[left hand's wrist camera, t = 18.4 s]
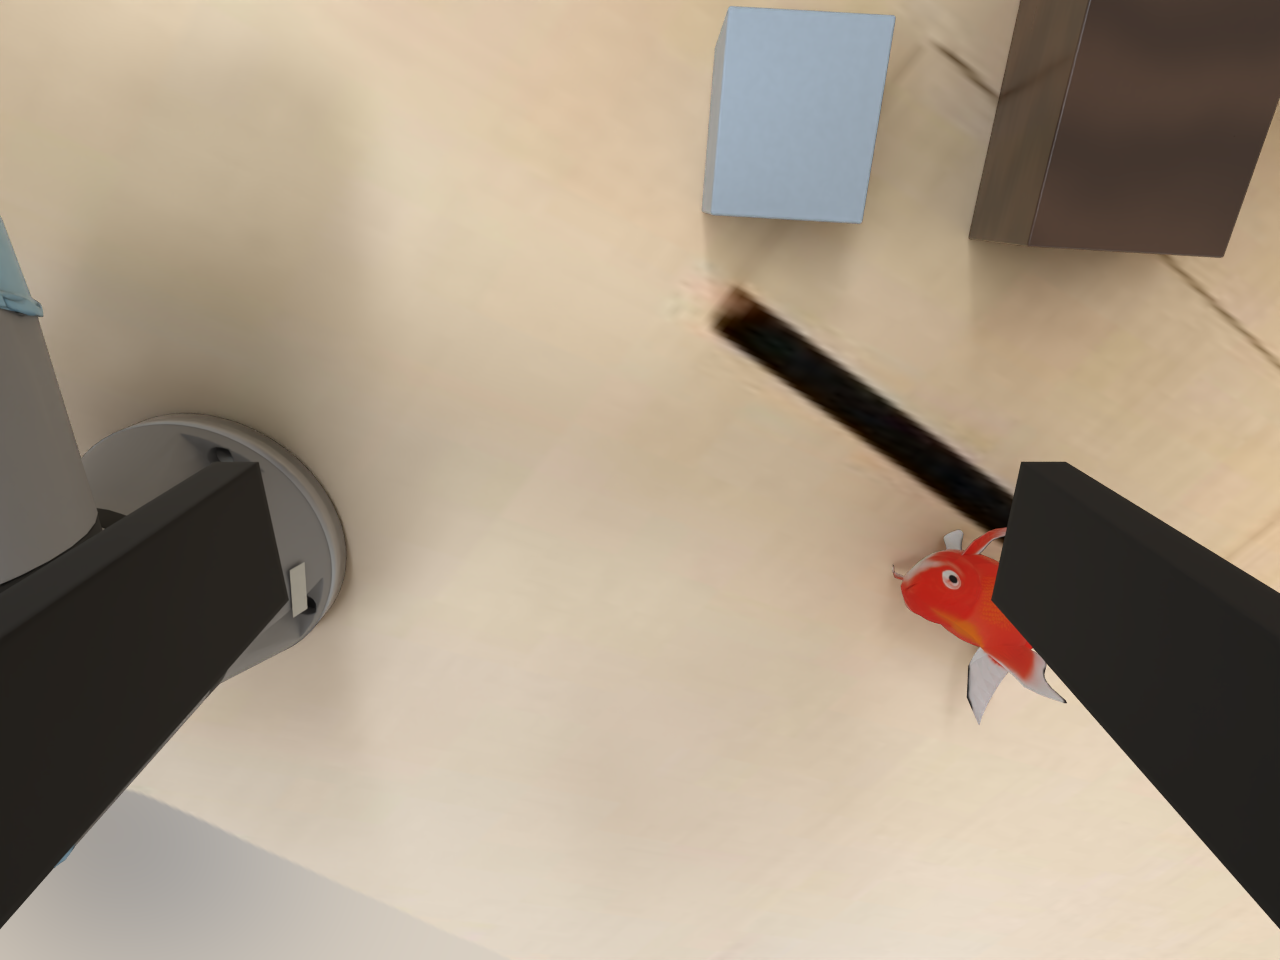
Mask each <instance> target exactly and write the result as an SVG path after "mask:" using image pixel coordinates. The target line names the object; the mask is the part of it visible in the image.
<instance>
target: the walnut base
mask: <svg viewBox="0 0 1280 960" xmlns="http://www.w3.org/2000/svg"><path fill="white" fill-rule="evenodd" d="M1279 98H1280V0H1021V2H1020V7H1019V11H1018V16H1017V20H1016V25H1015V29H1014V34H1013V38H1012V43H1011V48H1010V52H1009V57H1008V61H1007V66H1006V70H1005V75H1004V79H1003V84H1002V89H1001V93H1000V98H999V102H998V107H997V111H996V116H995V120H994V125H993V130H992V134H991V139H990V143H989V148H988V152H987V157H986V161H985V166H984V171H983V175H982V180H981V184H980V189H979V193H978V198H977V202H976V207H975V212H974V216H973V221H972V225H971V230H970V234H969V239H974V240H982V241H990V242H997V243H1005V244H1013V245H1020V246H1028V247H1045V248H1062V249H1079V250H1096V251H1113V252H1130V253H1147V254H1164V255H1181V256H1198V257H1215V258H1221V257H1223V256H1224V254H1225V251H1226V248H1227V245H1228V243H1229V240H1230V237H1231V234H1232V231H1233V228H1234V226H1235V223H1236V220H1237V217H1238V214H1239V211H1240V209H1241V206H1242V203H1243V200H1244V197H1245V194H1246V192H1247V189H1248V186H1249V183H1250V180H1251V177H1252V175H1253V172H1254V169H1255V166H1256V163H1257V160H1258V158H1259V155H1260V152H1261V149H1262V146H1263V143H1264V141H1265V138H1266V135H1267V132H1268V129H1269V127H1270V124H1271V121H1272V118H1273V115H1274V112H1275V110H1276V107H1277V104H1278V101H1279Z"/></svg>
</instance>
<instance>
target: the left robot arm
mask: <svg viewBox="0 0 1280 960" xmlns="http://www.w3.org/2000/svg"><path fill="white" fill-rule="evenodd" d="M37 316H38V317H43V309H42V306H41V304H40V303H39V302H38V301H36V300H34V299H33V298H32V297H31V295H30V292H29V290H28V287H27V284H26V282H25V279H24V276H23V274H22V271H21V268H20V266H19V263H18V260H17V258H16V255H15V252H14V250H13V247H12V244H11V242H10V239H9V236H8V234H7V231H6V228H5V226H4V223H3V220H2V218H1V216H0V929H1V928H2V926H3V925H4V924H5V923H6V922H7V921H8V920H9V918H10V917H11V916H12V915H13V914H14V913H15V912H16V910H17V909H18V908H19V907H20V906H21V905H22V904H23V902H24V901H25V900H26V899H27V898H28V897H29V896H30V894H31V893H32V892H33V891H34V890H35V889H36V888H37V886H38V885H39V884H40V883H41V882H42V881H43V880H44V879H45V877H46V876H47V875H48V874H49V873H50V872H51V871H52V869H53V868H55V867H56V866H57V865H59V864H60V863H61V862H63V861H64V860H65V859H66V858H67V857H68V856H69V854H70V853H71V851H72V850H73V849H74V847H75V846H76V844H77V843H78V842H79V841H80V840H81V839H82V838H83V837H84V835H85V834H86V833H87V832H88V831H89V830H90V829H91V828H92V826H93V825H94V824H95V823H96V822H97V821H98V820H99V819H100V817H101V816H102V815H103V814H104V813H105V812H106V811H107V809H108V808H109V807H110V806H111V805H112V804H113V803H114V802H115V800H116V799H117V798H118V797H119V796H120V795H121V794H122V793H123V791H124V790H125V789H126V788H127V787H128V786H129V785H130V784H131V782H132V781H133V780H134V779H135V778H136V777H137V776H138V775H139V773H140V772H141V771H142V770H143V769H144V768H145V767H146V766H147V764H148V763H149V762H150V761H151V760H152V759H153V758H154V756H155V755H156V754H157V753H158V752H159V751H160V750H161V749H162V747H163V746H164V745H165V744H166V743H167V742H168V741H169V740H170V738H171V737H172V736H173V735H174V734H175V733H176V732H177V731H178V729H179V728H180V727H181V726H182V725H183V724H184V723H185V722H186V720H187V719H188V718H189V717H190V716H191V715H192V714H193V712H194V711H195V710H196V709H197V708H198V707H199V706H200V705H201V703H202V702H203V701H204V700H205V699H206V698H207V697H208V696H209V695H210V693H211V692H212V691H213V690H214V689H215V688H216V687H217V686H218V685H219V684H220V683H222V682H224V681H226V680H228V679H230V678H232V677H234V676H236V675H237V674H239V673H241V672H243V671H245V670H247V669H249V668H251V667H253V666H255V665H257V664H259V663H261V662H263V661H265V660H267V659H269V658H270V657H272V656H274V655H276V654H278V653H280V652H282V651H284V650H286V649H288V648H290V647H292V646H293V645H295V644H296V643H298V642H299V641H300V640H302V639H303V638H304V637H305V636H306V635H307V634H308V633H309V632H311V630H312V629H313V628H314V627H315V626H316V624H317V623H318V622H319V621H320V619H321V618H322V617H323V616H324V615H325V613H326V612H327V611H328V610H329V609H330V607H331V606H332V604H333V603H334V601H335V599H336V597H337V595H338V593H339V591H340V589H341V586H342V583H343V579H344V574H345V568H346V546H345V539H344V534H343V530H342V526H341V523H340V520H339V518H338V515H337V512H336V510H335V508H334V506H333V504H332V502H331V500H330V499H329V497H328V495H327V493H326V492H325V490H324V489H323V487H322V486H321V485H320V483H319V482H318V480H317V479H316V478H315V477H314V476H313V474H312V473H311V472H310V471H309V470H308V469H307V468H306V467H305V466H304V465H303V464H302V463H301V462H300V461H299V460H298V459H297V458H296V457H295V456H294V455H292V454H291V453H290V452H289V451H288V450H286V449H285V448H284V447H282V446H281V445H279V444H278V443H277V442H275V441H273V440H272V439H270V438H268V437H267V436H265V435H263V434H261V433H259V432H258V431H256V430H254V429H252V428H249V427H247V426H244V425H242V424H239V423H237V422H233V421H230V420H227V419H224V418H219V417H215V416H210V415H202V414H188V413H182V414H169V415H163V416H157V417H154V418H150V419H147V420H144V421H142V422H139V423H137V424H134V425H132V426H130V427H127V428H125V429H122V430H120V431H118V432H115V433H113V434H111V435H109V436H108V437H106V438H104V439H102V440H101V441H99V442H98V443H97V444H95V445H94V446H93V447H92V448H91V449H90V450H89V451H87V452H86V453H85V454H84V456H83V457H82V458H81V457H80V453H79V450H78V447H77V444H76V440H75V437H74V434H73V431H72V427H71V424H70V421H69V418H68V414H67V411H66V408H65V405H64V401H63V398H62V395H61V392H60V388H59V385H58V382H57V379H56V375H55V372H54V369H53V366H52V362H51V359H50V356H49V353H48V349H47V346H46V343H45V340H44V337H43V333H42V330H41V327H40V324H39V320H38V317H37ZM991 601H992V602H993V603H994V604H995V605H996V606H997V607H998V609H999V610H1000V611H1001V612H1002V613H1003V614H1004V615H1005V617H1006V618H1007V619H1008V620H1009V621H1010V622H1011V623H1012V625H1013V626H1014V627H1015V628H1016V629H1017V630H1018V631H1019V633H1020V634H1021V635H1022V636H1023V637H1024V638H1025V639H1026V641H1027V642H1028V643H1029V644H1030V645H1031V646H1032V647H1033V648H1034V650H1035V651H1036V652H1037V653H1038V654H1039V655H1040V656H1041V658H1042V659H1043V660H1044V661H1045V662H1046V663H1047V664H1048V666H1049V667H1050V668H1051V669H1052V670H1053V671H1054V672H1055V674H1056V675H1057V676H1058V677H1059V678H1060V679H1061V680H1062V682H1063V683H1064V684H1065V685H1066V686H1067V687H1068V688H1069V689H1070V691H1071V692H1072V693H1073V694H1074V695H1075V696H1076V697H1077V699H1078V700H1079V701H1080V702H1081V703H1082V704H1083V705H1084V707H1085V708H1086V709H1087V710H1088V711H1089V712H1090V713H1091V715H1092V716H1093V717H1094V718H1095V719H1096V720H1097V721H1098V723H1099V724H1100V725H1101V726H1102V727H1103V728H1104V729H1105V730H1106V732H1107V733H1108V734H1109V735H1110V736H1111V737H1112V738H1113V740H1114V741H1115V742H1116V743H1117V744H1118V745H1119V746H1120V748H1121V749H1122V750H1123V751H1124V752H1125V753H1126V754H1127V756H1128V757H1129V758H1130V759H1131V760H1132V761H1133V762H1134V764H1135V765H1136V766H1137V767H1138V768H1139V769H1140V770H1141V771H1142V773H1143V774H1144V775H1145V776H1146V777H1147V778H1148V779H1149V781H1150V782H1151V783H1152V784H1153V785H1154V786H1155V787H1156V789H1157V790H1158V791H1159V792H1160V793H1161V794H1162V795H1163V797H1164V798H1165V799H1166V800H1167V801H1168V802H1169V803H1170V805H1171V806H1172V807H1173V808H1174V809H1175V810H1176V811H1177V812H1178V814H1179V815H1180V816H1181V817H1182V818H1183V819H1184V820H1185V822H1186V823H1187V824H1188V825H1189V826H1190V827H1191V828H1192V830H1193V831H1194V832H1195V833H1196V834H1197V835H1198V836H1199V838H1200V839H1201V840H1202V841H1203V842H1204V843H1205V844H1206V846H1207V847H1208V848H1209V849H1210V850H1211V851H1212V852H1213V853H1214V855H1215V856H1216V857H1217V858H1218V859H1219V860H1220V861H1221V863H1222V864H1223V865H1224V866H1225V867H1226V868H1227V869H1228V871H1229V872H1230V873H1231V874H1232V875H1233V876H1234V877H1235V879H1236V880H1237V881H1238V882H1239V883H1240V884H1241V885H1242V887H1243V888H1244V889H1245V890H1246V891H1247V892H1248V893H1249V894H1250V896H1251V897H1252V898H1253V899H1254V900H1255V901H1256V902H1257V904H1258V905H1259V906H1260V907H1261V908H1262V909H1263V910H1264V912H1265V913H1266V914H1267V915H1268V916H1269V917H1270V918H1271V920H1272V921H1273V922H1274V923H1275V924H1276V925H1277V926H1278V928H1279V929H1280V593H1278V592H1277V591H1275V590H1274V589H1272V588H1270V587H1269V586H1267V585H1265V584H1264V583H1262V582H1260V581H1259V580H1257V579H1256V578H1254V577H1252V576H1251V575H1249V574H1247V573H1246V572H1244V571H1243V570H1241V569H1239V568H1238V567H1236V566H1234V565H1233V564H1231V563H1230V562H1228V561H1226V560H1225V559H1223V558H1221V557H1220V556H1218V555H1217V554H1215V553H1213V552H1212V551H1210V550H1208V549H1207V548H1205V547H1204V546H1202V545H1200V544H1199V543H1197V542H1195V541H1194V540H1192V539H1191V538H1189V537H1187V536H1186V535H1184V534H1182V533H1181V532H1179V531H1177V530H1176V529H1174V528H1173V527H1171V526H1169V525H1168V524H1166V523H1164V522H1163V521H1161V520H1160V519H1158V518H1156V517H1155V516H1153V515H1151V514H1150V513H1148V512H1147V511H1145V510H1143V509H1142V508H1140V507H1138V506H1137V505H1135V504H1134V503H1132V502H1130V501H1129V500H1127V499H1125V498H1124V497H1122V496H1121V495H1119V494H1117V493H1116V492H1114V491H1112V490H1111V489H1109V488H1107V487H1106V486H1104V485H1103V484H1101V483H1099V482H1098V481H1096V480H1094V479H1093V478H1091V477H1090V476H1088V475H1086V474H1085V473H1083V472H1081V471H1080V470H1078V469H1077V468H1075V467H1073V466H1072V465H1070V464H1068V463H1067V462H1021V465H1020V470H1019V474H1018V479H1017V484H1016V488H1015V493H1014V497H1013V502H1012V506H1011V511H1010V516H1009V520H1008V525H1007V529H1006V534H1005V538H1004V543H1003V548H1002V552H1001V557H1000V561H999V566H998V570H997V575H996V580H995V584H994V589H993V593H992V598H991Z"/></svg>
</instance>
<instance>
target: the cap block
mask: <svg viewBox="0 0 1280 960" xmlns="http://www.w3.org/2000/svg"><path fill="white" fill-rule="evenodd" d="M894 25H895V16H894V15H879V14H861V13H843V12H825V11H808V10H790V9H772V8H754V7H736V6H730V7H729V8H728V11H727V14H726V17H725V20H724V23H723V26H722V29H721V32H720V35H719V38H718V41H717V44H716V47H715V55H714V67H713V79H712V91H711V104H710V116H709V128H708V140H707V152H706V165H705V177H704V189H703V201H702V212H704V213H707V214H711V215H719V216H736V217H753V218H770V219H786V220H803V221H820V222H837V223H854V224H860V223H862V220H863V214H864V208H865V202H866V196H867V190H868V184H869V178H870V171H871V165H872V159H873V153H874V147H875V141H876V135H877V129H878V123H879V117H880V110H881V104H882V98H883V92H884V86H885V80H886V74H887V68H888V62H889V56H890V49H891V43H892V37H893V31H894Z"/></svg>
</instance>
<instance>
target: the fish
mask: <svg viewBox="0 0 1280 960" xmlns="http://www.w3.org/2000/svg"><path fill="white" fill-rule="evenodd" d="M1006 529H1007V527H1005V528H1000V529H994V530H991V531H988V532H987V533H985V534H984V535H982V536H980V537H979V538H977V539H975V540H974V541H973V542H972V543H971V544H970V545H969V546H968V548H967V549H966V550H965V551H964V550H962V547H961V546H962V539H963V532H962V531H961V530H955V531H953V532H951V533H949V534H947V535H945V536H944V542H945V544H946V550H942V551H938V552H934V553H932V554H930V555H928V556H926V557H925V558H923V559H922V560H920V561H919V562H918V563H917V564H916V565H915V566H913V567H912V568H911V569H910V570H909V571H908V572H907V574H906V575H905V576H902V575H900V574H898V573H896V572H894V565H893V568H892V572H893V574H894V577H895V578H897V579H900V580H903V581H902V584H901V590H902V594H903V597H904V601H905V604H906V606H907V607H908V609H909V610H911V611H912V612H914V613H916V614H918V615H920V616H922V617H923V618H925V619H927V620H929V621H931V622H934V623H938V624H941V625H942V626H943V627H944V628H946V629H947V630H948V631H949V632H951V633H952V634H954V635H955V636H957V637H958V638H960V639H961V640H963V641H966V642H968V643H970V644H973V645H975V646H979V648H978V650H977V651H976V653H975V654H974V656H973V658H972V660H971V662H970V664H969V666H968V684H967V699H968V701H969V703H970V706H971V708H972V710H973V713H974V715H975V717H976V719H977V722H978V724H980V721H981V718H982V715H983V713H984V711H985V709H986V706H987V704H988V703H989V701H990V699H991V697H992V695H993V693H994V692H995V690H996V688H997V687H998V685H999V684H1000V682H1001V681H1002V679H1003V678H1004V677H1005V676H1006V674H1007V673H1008V672H1010V673H1011V674H1012V675H1013V676H1014V677H1015V678H1016V679H1017V680H1018V681H1019V682H1020V683H1021V684H1022V685H1023V686H1024V687H1025V688H1027V689H1029V690H1032V691H1034V692H1036V693H1038V694H1040V695H1042V696H1045V697H1048V698H1051V699H1054V700H1057V701H1060V702H1063V703H1067V702H1066V700H1065V699H1063V698H1062V697H1061V696H1060V695H1059V694H1058V693H1057V692H1056V691H1054V690H1053V689H1052V688H1051V687H1050V685H1049V684H1048V683H1047V681H1046V679H1045V677H1044V673H1045V669H1046V662H1045V661H1044V660H1043V659H1042V658H1041V656H1040V655H1039V654H1037V653H1036V652H1034V651H1032V650H1031V649H1032V648H1033V647H1032V646H1031V645H1030V644H1029V643H1028V642H1027V641H1026V639H1025V638H1024V637H1023V636H1022V635H1021V634H1020V633H1019V631H1018V630H1017V629H1016V628H1015V627H1014V626H1013V625H1012V623H1011V622H1010V621H1009V620H1008V619H1007V618H1006V617H1005V615H1004V614H1003V613H1002V612H1001V611H1000V610H999V609H998V607H997V606H996V605H995V604H994V603H993V602H992V601H991V598H992V593H993V589H994V584H995V580H996V575H997V570H998V566H999V562H997V561H996V560H993V559H991V558H989V557H986V556H984V555H981V554H980V553H981V552H982V551H983V550H984V549H985V548H986V547H987V545H988V544H989V543H990V542H991V541H993V540H995V539H997V538H1000V537H1003V536H1005V534H1006Z"/></svg>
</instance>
